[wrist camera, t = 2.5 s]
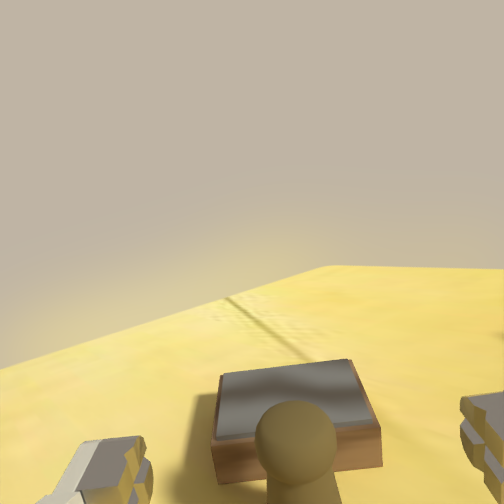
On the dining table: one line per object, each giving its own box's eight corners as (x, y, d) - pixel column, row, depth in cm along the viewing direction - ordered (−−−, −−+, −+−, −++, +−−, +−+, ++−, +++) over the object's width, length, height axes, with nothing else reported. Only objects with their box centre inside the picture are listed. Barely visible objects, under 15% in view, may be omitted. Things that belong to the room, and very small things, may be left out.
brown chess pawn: (288, 613, 24) (265, 471, 21) (254, 527, 30) (232, 405, 27) (372, 567, 26) (362, 430, 23) (324, 495, 31) (311, 376, 28)
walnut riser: (382, 466, 33) (380, 422, 32) (218, 484, 34) (209, 441, 33) (353, 391, 43) (350, 355, 42) (225, 406, 43) (219, 371, 42)
